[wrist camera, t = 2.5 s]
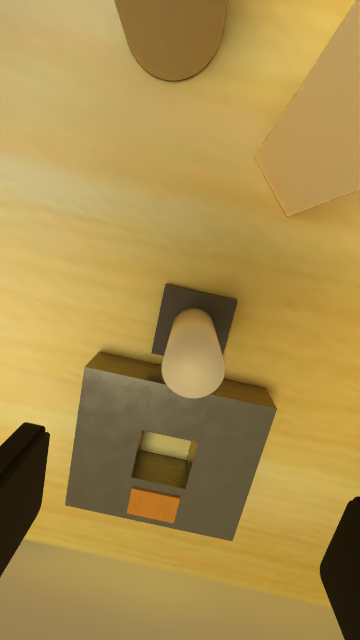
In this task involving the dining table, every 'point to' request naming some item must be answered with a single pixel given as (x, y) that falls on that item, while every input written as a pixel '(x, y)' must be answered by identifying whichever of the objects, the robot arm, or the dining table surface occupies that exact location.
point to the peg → (193, 355)
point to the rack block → (157, 470)
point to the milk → (319, 128)
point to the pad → (186, 298)
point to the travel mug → (173, 34)
